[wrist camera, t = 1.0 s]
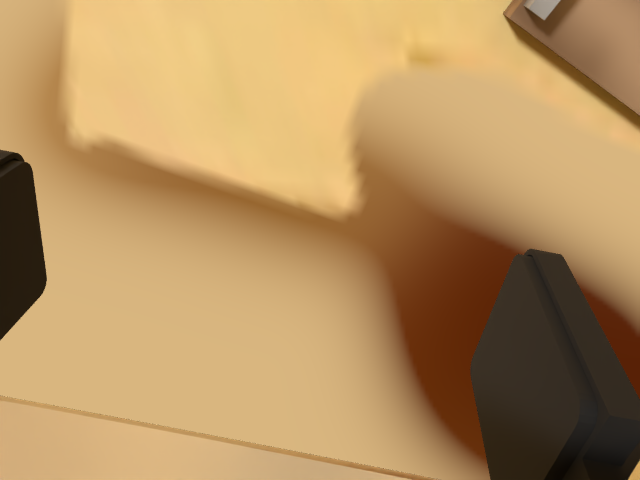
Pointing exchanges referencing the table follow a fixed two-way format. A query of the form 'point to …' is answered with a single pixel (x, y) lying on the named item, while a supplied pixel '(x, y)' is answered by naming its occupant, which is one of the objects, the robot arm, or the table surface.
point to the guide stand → (590, 39)
